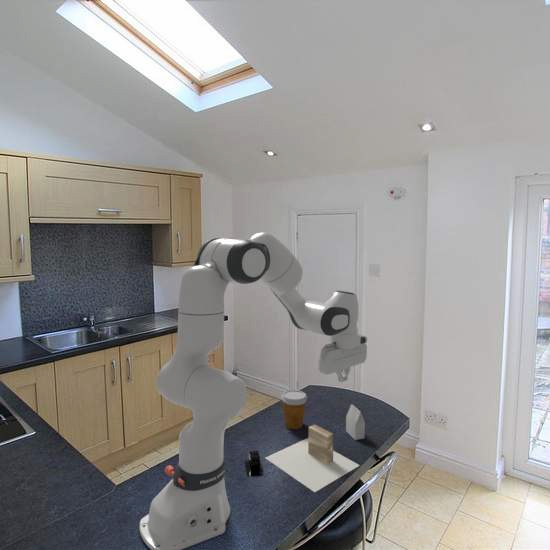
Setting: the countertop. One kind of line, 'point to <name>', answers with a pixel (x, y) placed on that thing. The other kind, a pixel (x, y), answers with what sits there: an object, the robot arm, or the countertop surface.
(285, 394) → the disposable coffee cup
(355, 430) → the grey angular block
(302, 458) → the felt mat
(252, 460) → the black mounting plate
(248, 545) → the countertop surface
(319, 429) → the letter block
